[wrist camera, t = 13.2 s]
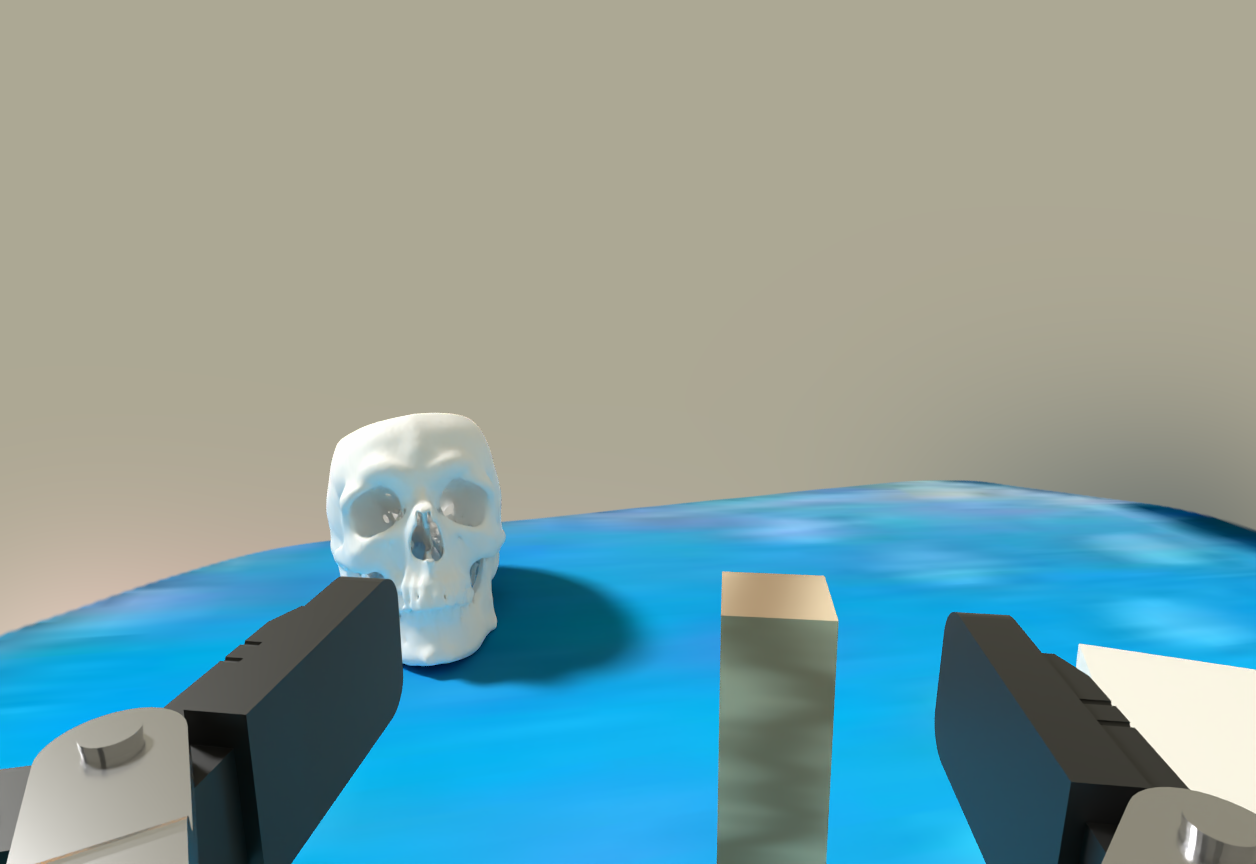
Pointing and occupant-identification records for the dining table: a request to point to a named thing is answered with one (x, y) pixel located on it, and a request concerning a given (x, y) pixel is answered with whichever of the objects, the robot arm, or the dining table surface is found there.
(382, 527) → the skull planter
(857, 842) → the dining table surface
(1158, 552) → the dining table surface
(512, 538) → the dining table surface
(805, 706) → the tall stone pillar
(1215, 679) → the shelf
